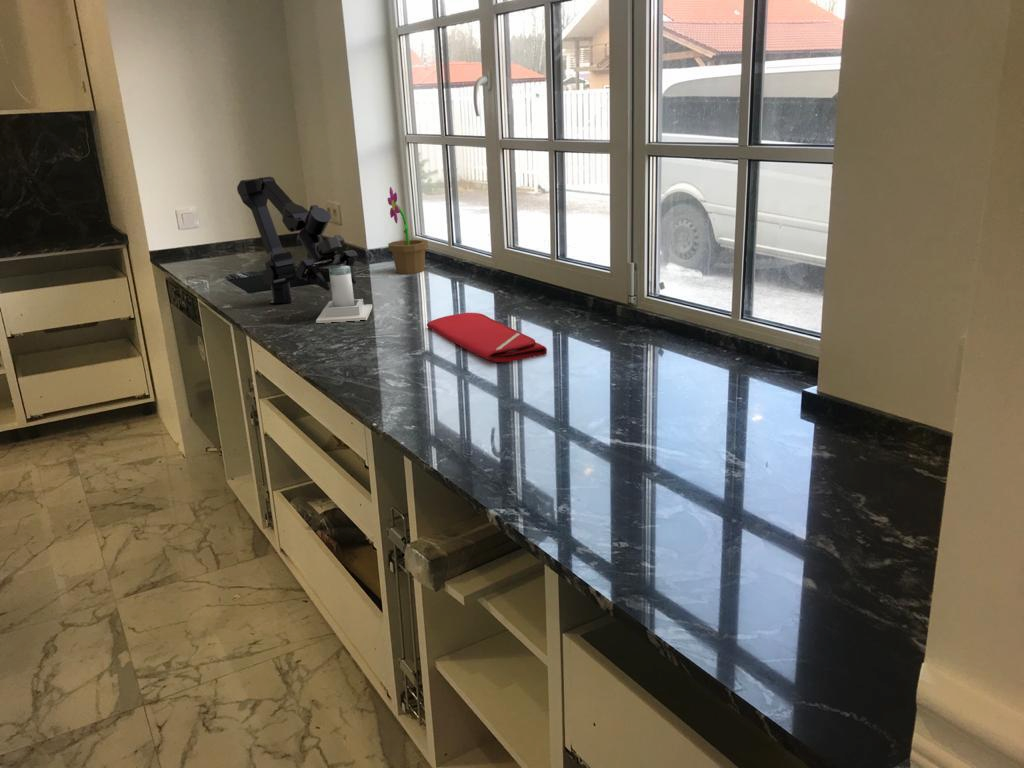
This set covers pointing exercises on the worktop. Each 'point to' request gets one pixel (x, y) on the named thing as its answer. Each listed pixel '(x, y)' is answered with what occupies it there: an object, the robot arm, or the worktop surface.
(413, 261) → the flowerpot
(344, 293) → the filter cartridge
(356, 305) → the white square stand
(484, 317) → the folded red towel
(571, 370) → the worktop surface
